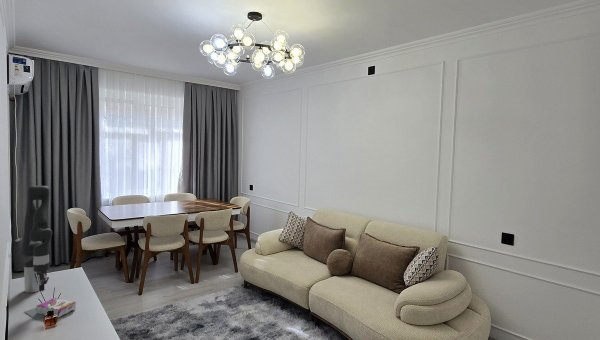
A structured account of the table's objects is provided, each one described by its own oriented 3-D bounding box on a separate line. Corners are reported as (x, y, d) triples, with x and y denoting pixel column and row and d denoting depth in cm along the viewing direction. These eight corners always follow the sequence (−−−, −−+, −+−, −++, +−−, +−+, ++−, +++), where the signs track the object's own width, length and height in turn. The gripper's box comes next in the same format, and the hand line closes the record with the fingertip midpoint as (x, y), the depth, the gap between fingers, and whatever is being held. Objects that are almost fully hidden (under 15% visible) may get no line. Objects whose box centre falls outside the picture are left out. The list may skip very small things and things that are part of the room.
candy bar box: (54, 297, 200) (76, 301, 197) (54, 305, 201) (76, 309, 197) (35, 305, 190) (58, 309, 186) (35, 313, 190) (58, 318, 186)
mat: (24, 312, 192) (24, 311, 192) (51, 303, 204) (51, 302, 204) (36, 319, 184) (36, 319, 184) (64, 309, 196) (64, 309, 196)
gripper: (28, 261, 194) (29, 290, 196) (39, 266, 188) (39, 295, 189) (43, 258, 201) (44, 285, 202) (54, 262, 194) (54, 291, 195)
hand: (41, 290), depth 195 cm, fingers closed
